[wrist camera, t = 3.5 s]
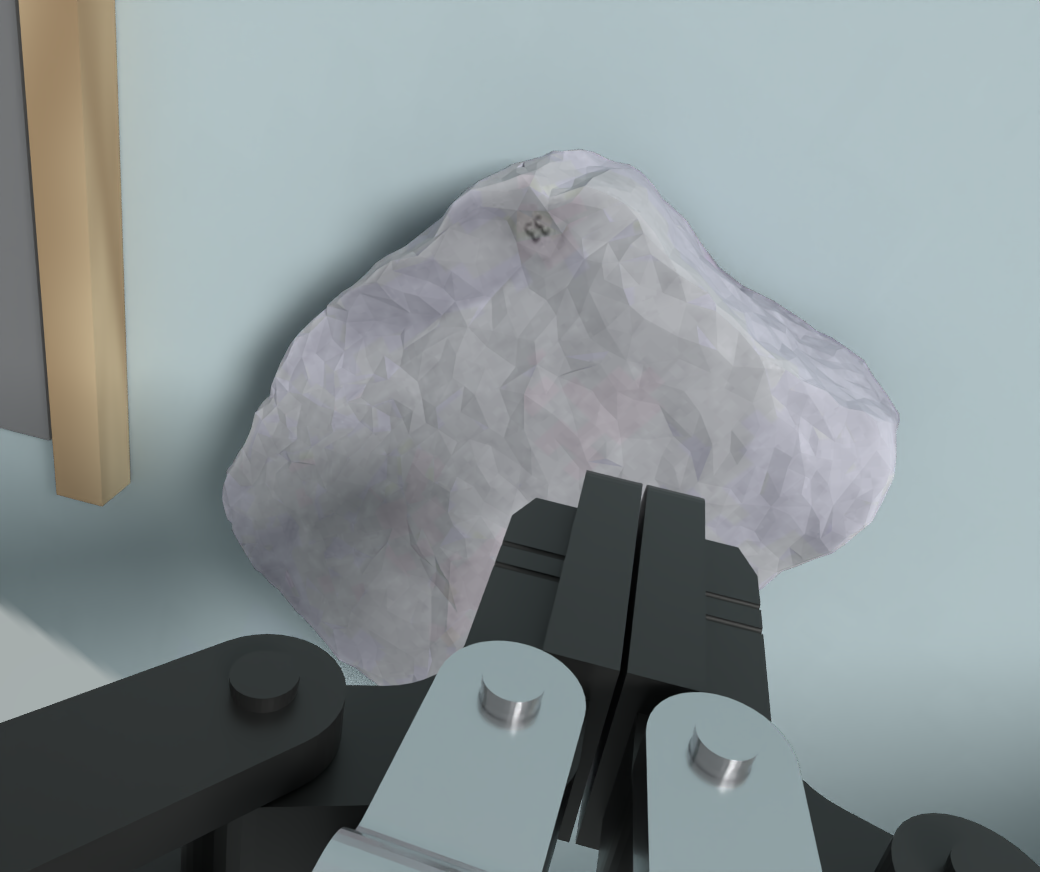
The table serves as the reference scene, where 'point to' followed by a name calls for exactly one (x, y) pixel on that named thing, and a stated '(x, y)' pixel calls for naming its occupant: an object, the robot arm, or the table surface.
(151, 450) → the table surface
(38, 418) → the mat
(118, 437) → the strip
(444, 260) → the stone block
